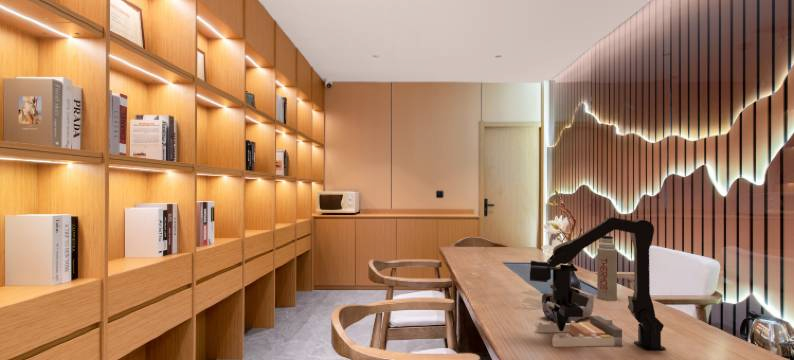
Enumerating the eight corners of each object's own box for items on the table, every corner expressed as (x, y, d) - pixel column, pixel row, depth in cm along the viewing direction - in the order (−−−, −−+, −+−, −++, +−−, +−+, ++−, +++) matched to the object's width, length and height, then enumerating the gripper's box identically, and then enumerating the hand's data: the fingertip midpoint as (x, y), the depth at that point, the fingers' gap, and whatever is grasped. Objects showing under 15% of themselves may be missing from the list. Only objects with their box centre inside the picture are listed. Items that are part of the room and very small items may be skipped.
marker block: (605, 343, 140) (605, 332, 140) (584, 344, 139) (584, 332, 139) (589, 333, 150) (589, 322, 150) (569, 333, 149) (569, 323, 149)
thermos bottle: (608, 301, 192) (608, 237, 192) (593, 297, 199) (593, 235, 199) (621, 299, 195) (620, 236, 196) (605, 295, 202) (605, 234, 203)
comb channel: (622, 345, 138) (622, 324, 138) (554, 346, 136) (554, 325, 136) (596, 329, 153) (596, 311, 153) (535, 331, 151) (535, 312, 151)
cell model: (597, 289, 167) (567, 298, 155) (598, 317, 167) (568, 328, 155) (567, 283, 178) (536, 291, 166) (567, 309, 178) (537, 319, 166)
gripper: (600, 290, 136) (599, 340, 135) (572, 277, 154) (571, 322, 154) (565, 290, 135) (564, 340, 135) (541, 277, 154) (540, 322, 153)
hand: (561, 330), depth 144 cm, fingers closed
